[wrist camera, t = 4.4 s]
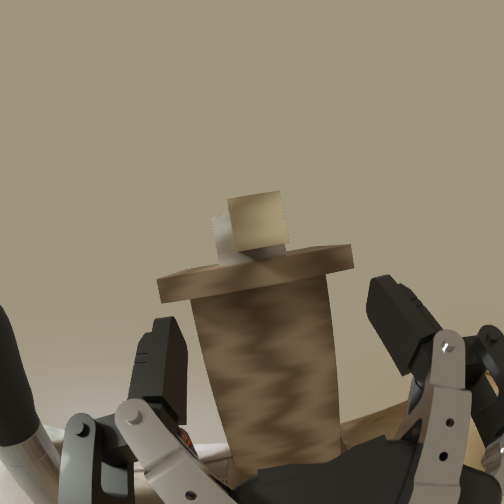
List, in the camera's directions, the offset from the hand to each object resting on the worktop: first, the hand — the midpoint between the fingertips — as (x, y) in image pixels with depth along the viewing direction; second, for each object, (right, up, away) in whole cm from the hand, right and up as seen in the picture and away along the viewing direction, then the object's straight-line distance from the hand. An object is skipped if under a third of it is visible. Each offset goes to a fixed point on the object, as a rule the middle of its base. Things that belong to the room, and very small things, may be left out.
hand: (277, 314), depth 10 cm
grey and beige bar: (-1, +2, +11) cm, 11 cm away
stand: (+5, -30, +17) cm, 35 cm away
